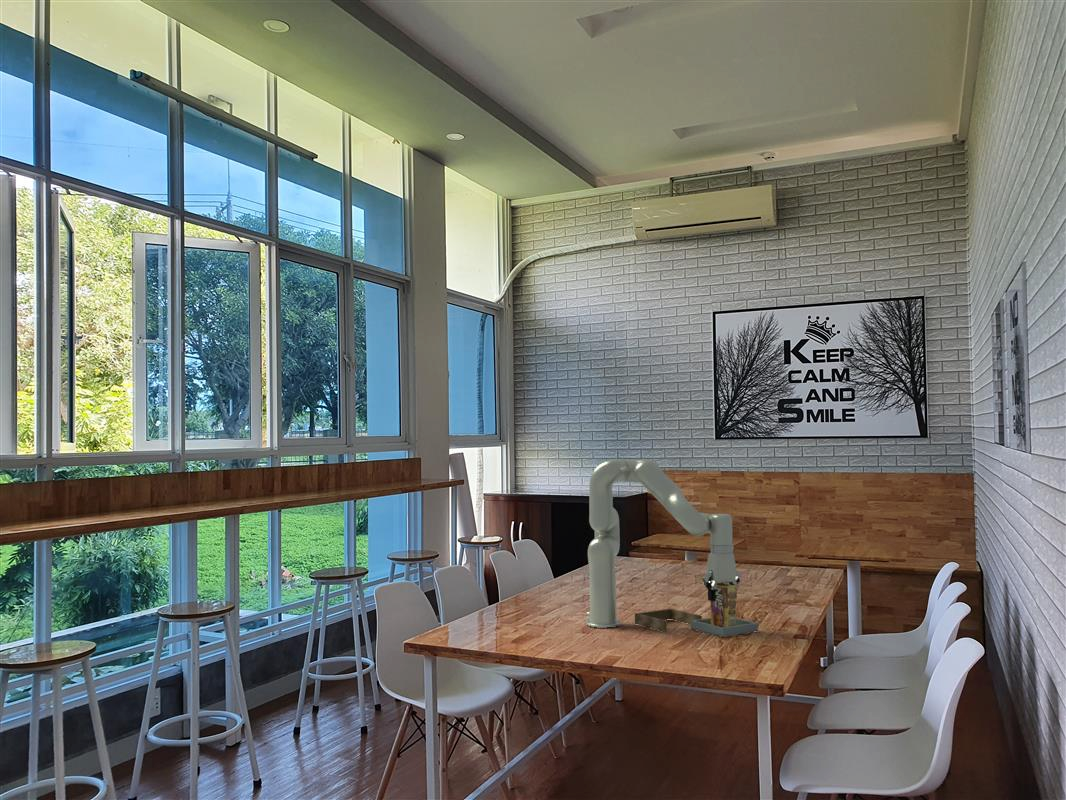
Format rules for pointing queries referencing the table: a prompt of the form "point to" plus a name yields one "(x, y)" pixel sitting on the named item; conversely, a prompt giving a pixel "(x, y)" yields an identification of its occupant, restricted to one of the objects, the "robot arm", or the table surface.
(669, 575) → the table surface
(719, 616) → the candy box
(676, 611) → the walnut bay
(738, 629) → the slate tray
